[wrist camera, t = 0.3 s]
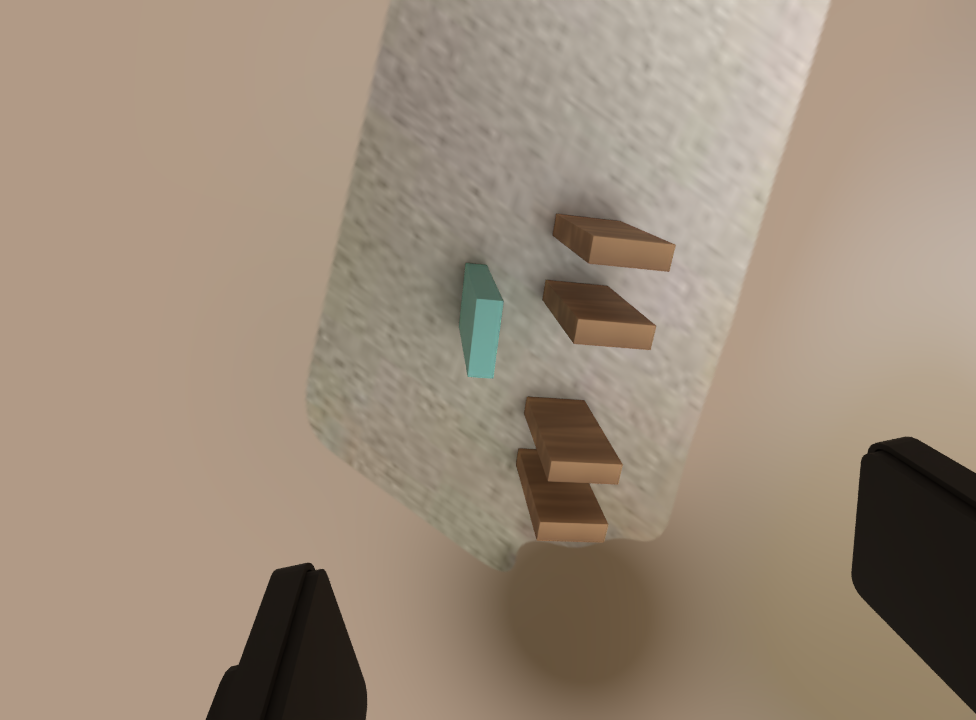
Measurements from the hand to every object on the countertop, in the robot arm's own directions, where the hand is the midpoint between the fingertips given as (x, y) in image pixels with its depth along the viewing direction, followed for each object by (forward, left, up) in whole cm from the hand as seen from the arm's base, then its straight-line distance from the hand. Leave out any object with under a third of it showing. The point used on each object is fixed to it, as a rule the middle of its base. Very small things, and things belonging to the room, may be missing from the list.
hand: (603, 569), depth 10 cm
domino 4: (+13, +9, -34) cm, 38 cm away
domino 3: (+3, +9, -34) cm, 35 cm away
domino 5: (+18, +9, -34) cm, 40 cm away
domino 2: (-2, +9, -34) cm, 35 cm away
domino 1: (+4, +1, -34) cm, 34 cm away
